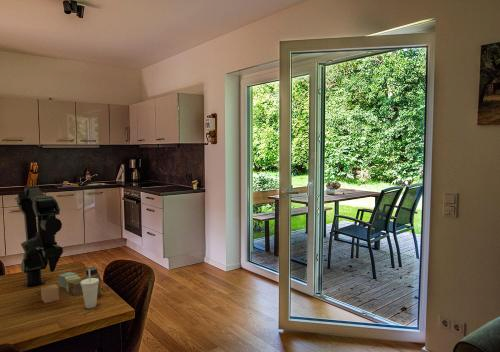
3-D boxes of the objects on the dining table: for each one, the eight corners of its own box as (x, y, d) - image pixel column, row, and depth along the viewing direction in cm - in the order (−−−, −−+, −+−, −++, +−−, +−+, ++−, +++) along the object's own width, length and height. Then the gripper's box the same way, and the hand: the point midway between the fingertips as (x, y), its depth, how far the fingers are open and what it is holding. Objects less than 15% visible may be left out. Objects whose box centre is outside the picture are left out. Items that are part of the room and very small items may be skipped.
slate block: (59, 286, 159) (58, 275, 158) (69, 282, 163) (69, 271, 163) (67, 288, 156) (66, 277, 156) (77, 284, 161) (76, 273, 160)
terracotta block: (41, 299, 145) (40, 287, 145) (55, 296, 148) (54, 283, 148) (45, 303, 141) (44, 290, 141) (59, 299, 145) (58, 287, 144)
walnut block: (68, 293, 150) (68, 281, 150) (80, 290, 154) (80, 278, 154) (75, 296, 147) (74, 284, 147) (87, 292, 151) (86, 280, 151)
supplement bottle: (94, 299, 144) (93, 271, 143) (81, 298, 145) (79, 270, 144) (103, 293, 149) (102, 266, 149) (90, 293, 151) (89, 265, 150)
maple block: (65, 288, 156) (64, 277, 155) (78, 286, 159) (77, 274, 158) (67, 292, 152) (67, 280, 151) (80, 289, 155) (80, 278, 154)
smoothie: (82, 311, 134) (80, 273, 132) (81, 304, 139) (79, 268, 138) (101, 307, 136) (99, 270, 135) (99, 301, 142) (97, 265, 141)
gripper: (16, 229, 144) (19, 268, 145) (28, 236, 131) (31, 280, 132) (48, 225, 152) (50, 262, 153) (62, 231, 138) (64, 272, 139)
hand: (48, 269), depth 144 cm, fingers open, 9 cm apart
